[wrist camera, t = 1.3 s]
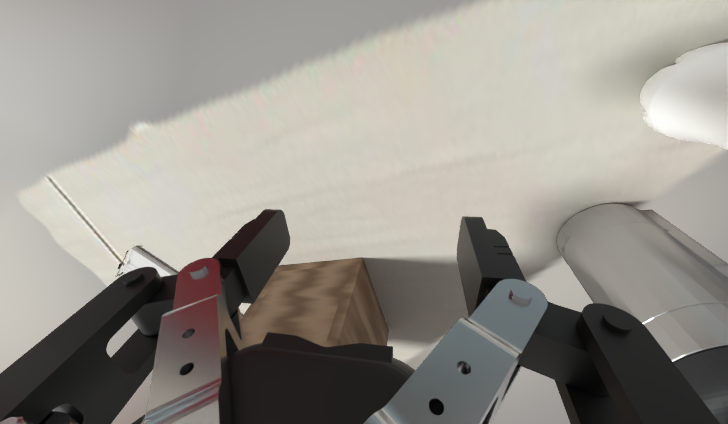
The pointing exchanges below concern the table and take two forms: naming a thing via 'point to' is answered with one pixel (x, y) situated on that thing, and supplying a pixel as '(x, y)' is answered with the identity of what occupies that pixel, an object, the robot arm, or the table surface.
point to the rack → (318, 305)
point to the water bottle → (690, 97)
